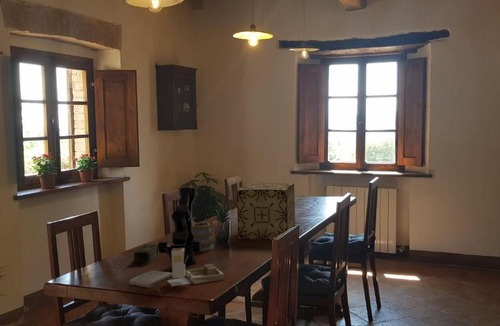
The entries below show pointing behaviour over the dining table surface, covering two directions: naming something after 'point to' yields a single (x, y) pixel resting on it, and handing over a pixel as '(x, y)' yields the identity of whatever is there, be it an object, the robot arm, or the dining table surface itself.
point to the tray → (203, 276)
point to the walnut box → (210, 270)
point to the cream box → (178, 262)
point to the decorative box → (265, 210)
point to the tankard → (203, 235)
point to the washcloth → (150, 278)
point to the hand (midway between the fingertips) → (178, 263)
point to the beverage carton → (145, 254)
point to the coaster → (179, 281)
